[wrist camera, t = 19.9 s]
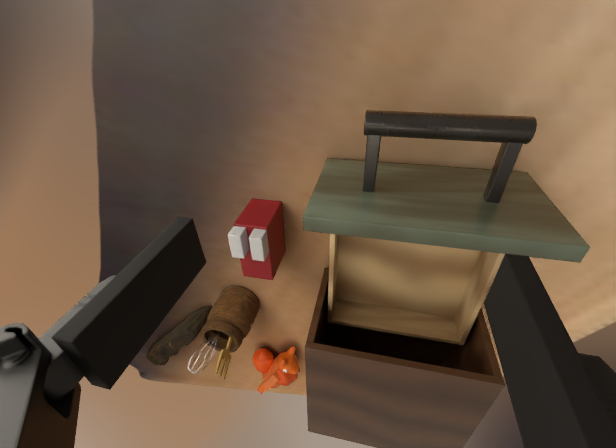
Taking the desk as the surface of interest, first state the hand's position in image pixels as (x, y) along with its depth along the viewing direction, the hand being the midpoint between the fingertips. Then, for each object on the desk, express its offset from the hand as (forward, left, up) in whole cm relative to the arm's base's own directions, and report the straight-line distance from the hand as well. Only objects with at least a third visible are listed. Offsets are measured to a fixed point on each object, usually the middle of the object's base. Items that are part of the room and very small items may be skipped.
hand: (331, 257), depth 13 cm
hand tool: (+43, +5, -17) cm, 47 cm away
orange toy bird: (+34, +19, -17) cm, 43 cm away
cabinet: (+14, +22, -17) cm, 31 cm away
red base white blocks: (+15, +1, -17) cm, 23 cm away
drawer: (+2, +10, -17) cm, 19 cm away
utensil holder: (+28, +7, -17) cm, 34 cm away
